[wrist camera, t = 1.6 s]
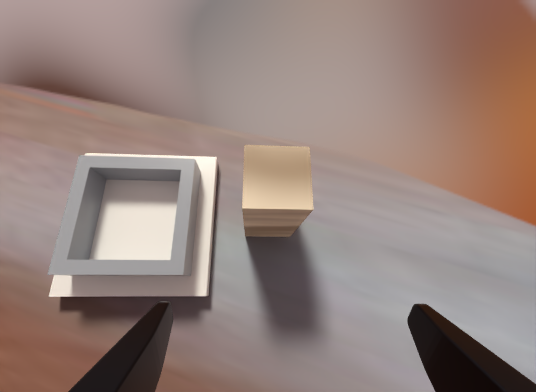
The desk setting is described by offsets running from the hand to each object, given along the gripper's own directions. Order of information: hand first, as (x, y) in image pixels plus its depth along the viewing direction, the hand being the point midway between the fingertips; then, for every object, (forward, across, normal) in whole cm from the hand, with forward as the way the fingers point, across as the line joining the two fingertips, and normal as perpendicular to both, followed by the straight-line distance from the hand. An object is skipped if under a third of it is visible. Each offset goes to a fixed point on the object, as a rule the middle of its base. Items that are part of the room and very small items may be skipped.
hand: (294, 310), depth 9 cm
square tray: (+13, +11, +5) cm, 18 cm away
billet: (+14, 0, +4) cm, 14 cm away
